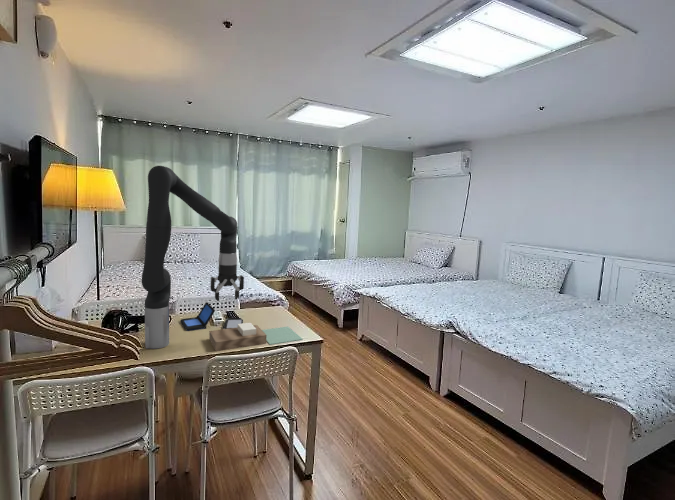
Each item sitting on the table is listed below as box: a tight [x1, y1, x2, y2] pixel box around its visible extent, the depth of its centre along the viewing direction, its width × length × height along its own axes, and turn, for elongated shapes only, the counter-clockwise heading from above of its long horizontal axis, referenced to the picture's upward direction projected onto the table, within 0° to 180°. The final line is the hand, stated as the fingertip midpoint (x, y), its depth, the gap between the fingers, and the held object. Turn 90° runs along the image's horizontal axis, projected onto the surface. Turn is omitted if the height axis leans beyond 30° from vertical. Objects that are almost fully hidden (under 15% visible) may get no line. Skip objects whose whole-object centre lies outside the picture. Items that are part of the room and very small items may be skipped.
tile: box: [238, 322, 256, 336], centre depth 167 cm, size 6×9×3 cm, turn 30°
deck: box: [208, 324, 267, 352], centre depth 165 cm, size 22×14×4 cm, turn 120°
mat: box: [261, 326, 304, 346], centre depth 175 cm, size 16×18×1 cm
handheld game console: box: [180, 301, 216, 332], centre depth 183 cm, size 16×13×9 cm
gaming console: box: [222, 317, 244, 329], centre depth 183 cm, size 19×9×2 cm, turn 12°
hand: (227, 299), depth 160 cm, fingers open, 7 cm apart
